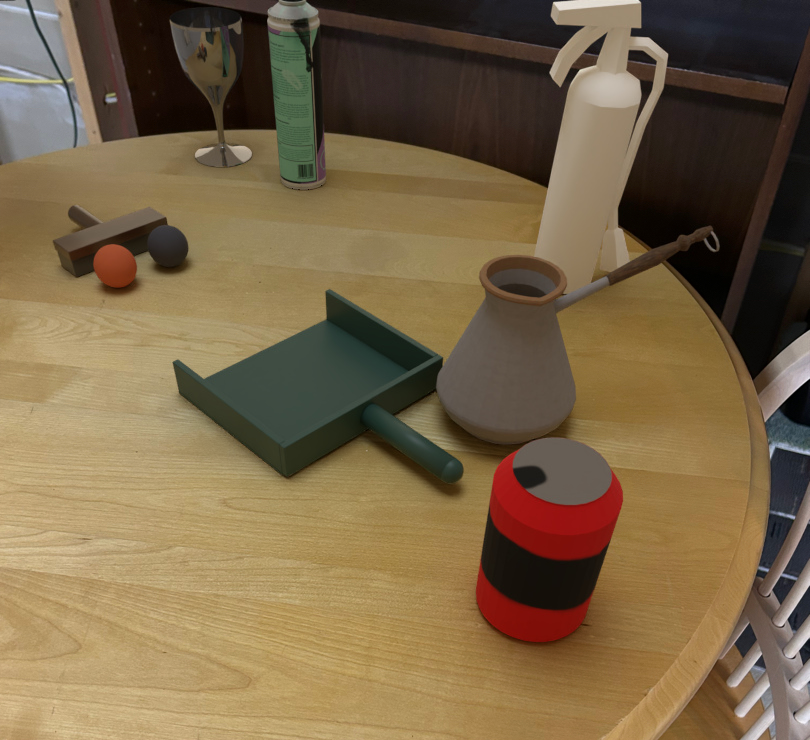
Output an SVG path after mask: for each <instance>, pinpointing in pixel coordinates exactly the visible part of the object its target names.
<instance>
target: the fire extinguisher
mask: <svg viewBox="0 0 810 740" xmlns="http://www.w3.org/2000/svg"><path fill="white" fill-rule="evenodd" d="M550 17H551V19H552V20H553V21H554V23H555V25H557V26H558V25H559V26H579V27H582V28H581V29H579V30H578V31H577V32H576V33H574V34H573V36H572V37H571V38H569V40H568V41H567V42H566V44H565V45H564V46H562V48H560V50H559V51H558V53H557V55H556V57H555V59H554V62H553V64H552V66H551V68H550V70H549V75H550V77H551V78H552V80H553V81H554V82H555V84H556V85H558V86H559V88H561V87H562V85H563V84H564V81H565V79H566V77H567V75H568V73H569V72H570V69H571V68H572V67H573V66H572V65H573V64H574V63H575V62H576V61H577V60H578V59H579V58H580V57H581V56H582V54H583V53H584V52H585V51H586V50H587V49H588V48H589V47H590V46H591V45H592V44H594V43H595V42H597V40H599V39H600V38H602V37H603V36H604V35H606V36H605V38H604V41H603V44H602V47H601V49H600V52H599V55H598V58H597V60H596V64H595V65H592V66H588V67H585V68H581V69H579V71H578V72H577V73H576V75H575V76H574V78H573V79H572V81H571V82H570V84H569V87H568V91H567V93H566V94H567V95H566V99H565V104H564V109H563V113H562V119H561V124H560V129H559V133H558V138H557V142H556V148H555V152H554V157H553V162H552V166H551V172H550V177H549V182H548V186H547V187H548V188H547V191H546V196H545V200H544V205H543V209H542V210H543V211H542V216H541V219H540V225H539V229H538V234H537V240H536V244H535V249H534V254H533V257H538V258H541V259H544V260H547V261H549V262H551V263H553V264H555V265H556V266H558V267H559V268H560V269H561V270H562V271H563V272H564V274H565V276H566V278H567V287H566V289H565V291H564V293H563V294H562V295H567V294H569V293H571V292H573V291H575V290H577V289H579V288H582V287H584V286H586V285H588V284H590V283H592V280H593V277H594V274H595V269H596V265H597V262H598V259H599V254H600V251H601V254H600V264H599V270H600V271H604V272H609V273H610V272H612V271H614V270H616V269H618V268H619V267H621V266H623V265H625V264H626V263H628V262H630V261H631V260H630V255H629V252H628V247H627V243H626V239H625V233H624V230H623V228H621V227H619V205H620V203H621V200H622V197H623V194H624V191H625V188H626V185H627V183H628V178H629V176H630V174H631V170H632V167H633V165H634V162H635V159H636V156H637V153H638V150H639V147H640V144H641V142H642V139H643V135H644V133H645V129H646V126H647V124H648V123H649V120H650V118H651V116H652V114H653V112H654V109H655V107H656V106H657V103H658V101H659V99H660V96H661V94H662V93H663V91H664V88H665V81H666V73H667V66H668V58H669V53H668V52H667V51H665V50H664V49H663V48H662V47H660V46H659V45H658V44H657V43H656V42H654V41H653V40H652V38H650V37H646V36H631V34H632V33H631V32H632V29H642V2H641V1H640V0H563V1H562V0H561V1H553V2H552V6H551V11H550ZM630 51H643V52H644V53H646V54H647V55H648V56H650V57H651V58H652V59H653V60H655V61H656V64H655V69H654V70H655V71H654V78H653V84H652V89H651V92H650V93H649V96H648V98H647V100H646V101H645V104H644V106H643V107H642V110H641V113H640V115H639V117H638V119H637V120H636V118H637V115H638V111H639V109H640V104H641V99H642V89H641V88H642V87H641V80H640V79H639V78H637V77H636V76H635V75H633V74H632V73H631V72H629V71H628V70H627V68H628V60H629V52H630Z"/></svg>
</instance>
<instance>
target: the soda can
mask: <svg viewBox="0 0 810 740" xmlns="http://www.w3.org/2000/svg"><path fill="white" fill-rule="evenodd" d="M623 503H624V491H623V487H622V485H621V482H620V480H619V479H618V477H617V475H616V474H615V472H614V471H613V470H612V468H611V466H610V465H609V463H608V461H607V460H606V458H605V457H604V456H603V455H602V454H601V453H599V452H598V451H597V450H596V449H595V448H593V447H591V446H590V445H588V444H586V443H583V442H580V441H578V440H575V439H570V438H567V437H565V438H564V437H544V438H543V437H542V438H537V439H535V440H534V439H533V440H531V441H529V442H528V443H526V444H524V445H522V447H520V448H519V449H517V450H515V451H513V452H512V453H510V454H508V455H507V456H506V457H504V458H503V459H502V460H501V461H500V463H499V464H498V465H497V466H496V469H495V471H494V473H493V477H492V484H491V492H490V497H489V503H488V509H487V516H486V522H485V528H484V535H483V542H482V548H481V554H480V561H479V567H478V572H477V579H476V585H475V598H476V603H477V605H478V608H479V611H481V614H482V615H483V617H484V618H485V620H487V621H488V622H489V623H490V625H492V626H493V627H494V628H495V629H496V630H498V631H500V632H501V633H503V634H505V635H507V636H508V637H511V638H514V639H517V640H521V641H525V642H531V643H547V642H552V641H557V640H560V639H563V638H566V637H568V636H569V635H571V634H572V633H573V632H575V631H576V630H577V629H578V628H579V627H580V626H581V625H582V624H583V621H584V620H585V618H586V615H587V614H588V609H589V606H590V605H591V604H590V603H591V602H592V601H591V600H592V598H593V595H594V592H595V590H596V589H595V588H596V585H597V584H598V583H597V582H598V580H599V577H600V574H601V571H602V568H603V565H604V561H605V559H606V555H607V553H608V549H609V547H610V544H611V540H612V537H613V535H614V532H615V530H616V529H615V528H616V525H617V522H618V519H619V517H620V513H621V510H622V506H623Z"/></svg>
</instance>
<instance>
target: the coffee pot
mask: <svg viewBox="0 0 810 740" xmlns="http://www.w3.org/2000/svg"><path fill="white" fill-rule="evenodd" d="M710 235H711V236H712V237H713V239H714V241H715V246H716V249H714V248H713V247H712V246H711V245H710V244H709V241H708V239H707V238H708V237H709V236H710ZM702 241H703V242H704V245H706V247H707V248H708V249H709V251H710V252H713V253H716V252H719V251H720V241H719V238H718V236H717V235H716V233H715V232H714V227H713V226H712V225H707V226H703V227H700V228H697V229H696V230H694V232H693V233H691V234H688V235H685V234H680V235H679V236H678V237H677V239H676V241H675V240H674V241H673V242H670V243H667V244H663V245H660V246H658V247H654V248H651V249H650V250H648V251H646V252H644V253H642V254H641V255H639V256H637V257H635V258H634V259H632V260H630V262H628V263H626V264H625V265H623V266H621V267H619V268H618V269H616V270H614V271H612V272H609V273H607V274H605V275H604V276H603V277H601V278H599V279H597V280H595V281H593V282H592V281H591V283H590V284H588V285H586V286H584V287H582V288H579V289H577V290H575V291H573V292H571V293H569V294H563V293H564V291H565V289H566V287H567V278H566V276H565V274H564V272H563V271H562V270H561V269H560V268H559V267H558V266H556V265H555V264H553V263H551V262H549V261H547V260H544V259H541V258H538V257H534V255H528V254H507V255H502V256H497V257H494V258H492V259H489V260H488V261H487V262H486V263H484V264H483V265H482V267H481V269H480V270H479V275H478V279H479V281H480V284H481V286H482V288H483V289H484V294H485V297H484V299H483V300H482V302H481V304H480V305H479V307H478V308H477V310H476V312H475V313H474V315H473V316H472V318H471V320H470V321H469V323H468V324H467V326H466V328H465V329H464V331H463V333H462V335H461V336H460V338H459V339H458V341H457V342H456V344H455V345H454V347H453V349H452V350H451V352H450V354H449V356H448V357H447V359H446V360H445V362H443V367H442V368H441V370H440V372H439V373H438V377H437V384H436V389H435V390H436V393H437V396H438V399H439V402H440V404H441V407H442V408H443V410H444V412H445V413H446V414H447V416H448V417H449V418H450V420H452V421H453V422H454V423H456V424H457V425H458V426H459V427H461V428H462V429H464V431H466V432H467V433H468V434H470V435H471V436H473V437H475V438H476V439H479V440H481V441H484V442H487V443H492V444H496V445H497V444H498V445H506V446H508V445H519V444H523V443H527V442H531V441H533V440H534V439H535V440H536V439H539V438H541V437H543V436H545V435H547V434H549V433H550V432H553V431H555V430H557V428H558V427H559V426H560V425H561V424H562V423H563V422H564V421H565V420H566V419H567V418H568V417H569V416H570V414H572V411H573V409H574V406H575V404H576V401H577V389H576V383H575V379H574V375H573V371H572V367H571V365H570V364H571V363H570V361H569V360H570V359H569V356H568V353H567V349H566V346H565V345H566V344H565V341H564V338H563V334H562V330H561V326H560V323H559V319H558V315H557V314H558V313H560V312H562V311H564V310H566V309H567V308H569V307H571V306H573V305H575V304H577V303H579V302H581V301H582V300H585V299H586V298H588V297H590V296H592V295H595V293H598V292H600V291H602V290H604V289H605V288H607V287H611V286H613V285H616V284H618V283H620V282H623V281H625V280H627V279H629V278H632V277H634V276H637V275H639V274H641V273H644V272H646V271H648V270H650V269H653V268H655V267H657V266H660V265H661V264H662V263H664V262H665V261H666V260H668V259H669V258H671V257H672V256H674V255H675V254H677V253H678V252H680V251H682V252H687V251H689V249H690V247H691V245H692V244H694V243H697V242H702ZM561 295H563V296H561Z"/></svg>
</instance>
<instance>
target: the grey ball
mask: <svg viewBox="0 0 810 740" xmlns="http://www.w3.org/2000/svg"><path fill="white" fill-rule="evenodd" d="M147 247H148V250H147V251H148V253H149V256H150V257H151V259H152V260H153V261H154V262H155V263H156V264H158V265H159V266H162V267H165V268H174V267H177V266H179V265H181V264H183V262H184V261H185V260H186V259H187V257H188V254H189V242H188V239H187V237H186V235H185V234H184V233H183V232H182V230H180V229H179V228H177V227H175V226H174V225H169V224H168V225H162V226H158V227H157V228H155V229H154V230H153V231H152V232H151V233H150V235H149V237H148V241H147Z"/></svg>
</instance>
